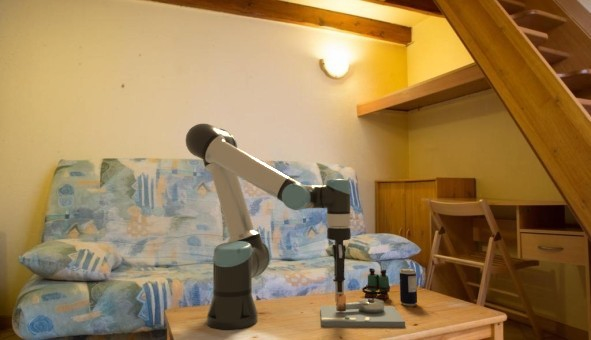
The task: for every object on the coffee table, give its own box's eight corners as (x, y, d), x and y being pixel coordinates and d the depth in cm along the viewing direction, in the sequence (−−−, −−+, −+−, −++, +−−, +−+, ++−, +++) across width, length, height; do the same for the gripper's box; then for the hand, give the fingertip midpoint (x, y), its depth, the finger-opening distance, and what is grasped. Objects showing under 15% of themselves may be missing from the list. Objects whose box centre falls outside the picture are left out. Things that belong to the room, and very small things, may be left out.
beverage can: (415, 302, 136) (414, 268, 137) (418, 306, 131) (417, 270, 132) (399, 301, 137) (398, 267, 138) (401, 306, 131) (400, 270, 132)
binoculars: (358, 273, 140) (368, 266, 148) (360, 302, 140) (370, 293, 148) (382, 275, 135) (391, 268, 143) (384, 305, 135) (393, 296, 143)
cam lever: (377, 305, 126) (377, 289, 127) (388, 312, 119) (388, 295, 119) (332, 308, 123) (332, 292, 124) (340, 315, 115) (340, 298, 116)
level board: (321, 326, 111) (321, 319, 111) (320, 310, 127) (320, 303, 127) (405, 326, 110) (405, 319, 110) (393, 310, 126) (393, 304, 126)
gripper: (352, 228, 117) (353, 307, 115) (348, 225, 130) (349, 296, 128) (328, 228, 117) (328, 307, 116) (326, 225, 130) (326, 296, 128)
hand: (339, 301), depth 122 cm, fingers closed
